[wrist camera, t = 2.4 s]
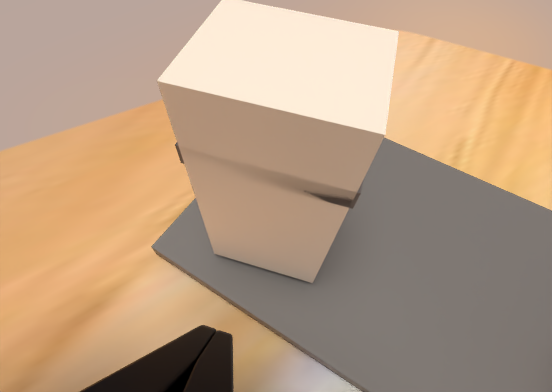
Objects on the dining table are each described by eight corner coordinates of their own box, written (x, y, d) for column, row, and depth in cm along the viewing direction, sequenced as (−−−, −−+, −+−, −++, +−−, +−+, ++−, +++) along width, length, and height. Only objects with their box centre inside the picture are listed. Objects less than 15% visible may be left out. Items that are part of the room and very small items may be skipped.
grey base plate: (797, 681, 10) (1206, 902, 6) (156, 254, 16) (121, 207, 12) (719, 299, 16) (877, 268, 12) (287, 106, 23) (293, 43, 19)
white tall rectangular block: (314, 283, 15) (390, 135, 6) (212, 253, 15) (152, 79, 7) (330, 213, 17) (402, 31, 8) (239, 189, 17) (221, -4, 9)
